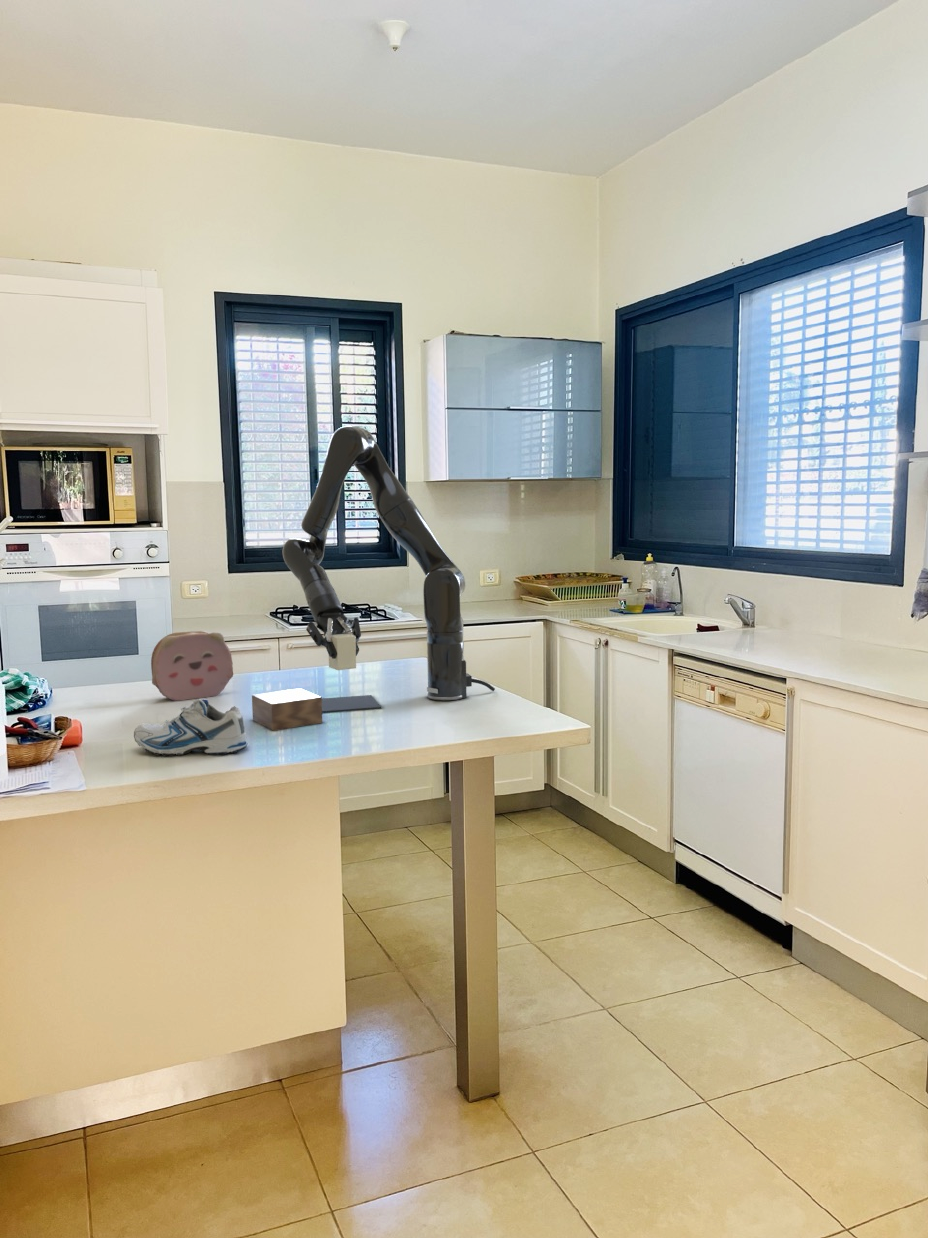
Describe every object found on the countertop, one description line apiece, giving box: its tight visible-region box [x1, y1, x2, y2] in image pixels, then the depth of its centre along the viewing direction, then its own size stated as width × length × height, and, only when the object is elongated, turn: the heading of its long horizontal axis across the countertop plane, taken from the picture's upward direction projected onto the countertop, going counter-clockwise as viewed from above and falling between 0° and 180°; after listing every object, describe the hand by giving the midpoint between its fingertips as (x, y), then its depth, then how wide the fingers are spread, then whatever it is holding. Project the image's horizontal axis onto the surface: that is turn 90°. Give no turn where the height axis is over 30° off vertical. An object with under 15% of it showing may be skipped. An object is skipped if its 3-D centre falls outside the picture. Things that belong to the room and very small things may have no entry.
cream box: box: [328, 634, 357, 671], centre depth 228 cm, size 5×5×8 cm
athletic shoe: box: [133, 698, 249, 757], centre depth 190 cm, size 10×23×12 cm, turn 94°
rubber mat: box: [322, 694, 382, 714], centre depth 230 cm, size 16×14×1 cm
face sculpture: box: [150, 630, 234, 702], centre depth 240 cm, size 20×7×17 cm, turn 121°
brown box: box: [251, 687, 323, 732], centre depth 213 cm, size 12×12×6 cm
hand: (345, 655), depth 227 cm, fingers closed on cream box, 5 cm apart
